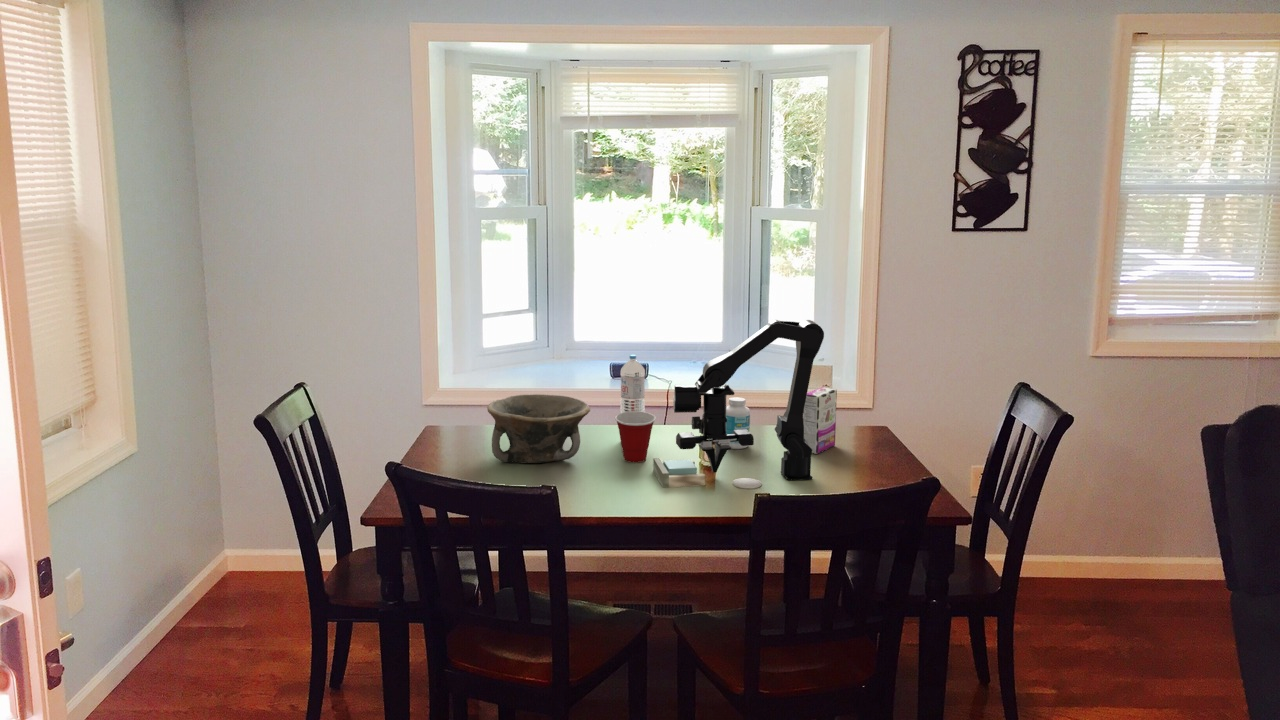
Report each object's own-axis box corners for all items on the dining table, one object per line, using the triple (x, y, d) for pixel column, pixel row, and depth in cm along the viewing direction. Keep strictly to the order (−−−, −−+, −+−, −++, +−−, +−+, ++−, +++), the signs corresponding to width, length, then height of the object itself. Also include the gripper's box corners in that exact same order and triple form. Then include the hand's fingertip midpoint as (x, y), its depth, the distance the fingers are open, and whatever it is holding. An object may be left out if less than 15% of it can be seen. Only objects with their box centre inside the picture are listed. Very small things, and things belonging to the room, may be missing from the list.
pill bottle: (736, 451, 267) (737, 403, 265) (716, 445, 273) (717, 398, 270) (754, 446, 272) (756, 399, 270) (735, 440, 278) (736, 394, 275)
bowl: (609, 455, 263) (609, 401, 260) (547, 480, 241) (546, 421, 239) (532, 439, 278) (531, 388, 275) (467, 462, 256) (466, 406, 253)
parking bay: (693, 469, 251) (693, 456, 250) (704, 485, 238) (705, 471, 238) (653, 471, 249) (653, 458, 248) (662, 487, 237) (662, 473, 236)
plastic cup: (614, 466, 253) (615, 421, 251) (614, 454, 264) (614, 411, 262) (656, 465, 254) (657, 421, 251) (654, 453, 264) (654, 410, 262)
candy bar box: (819, 443, 276) (821, 386, 273) (835, 446, 273) (838, 389, 270) (800, 451, 267) (802, 393, 264) (817, 455, 264) (819, 396, 261)
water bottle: (644, 445, 272) (644, 357, 267) (619, 445, 272) (620, 357, 268) (644, 438, 279) (645, 353, 274) (620, 438, 279) (621, 352, 274)
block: (690, 474, 248) (690, 459, 247) (696, 483, 241) (696, 467, 240) (663, 475, 246) (663, 460, 246) (668, 484, 240) (668, 468, 239)
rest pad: (756, 479, 244) (756, 477, 243) (764, 487, 237) (764, 486, 237) (729, 480, 242) (729, 478, 242) (736, 489, 236) (737, 487, 236)
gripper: (742, 402, 251) (741, 460, 254) (671, 406, 248) (671, 464, 251) (754, 413, 240) (753, 473, 243) (680, 416, 237) (680, 478, 240)
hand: (714, 472), depth 245 cm, fingers closed
